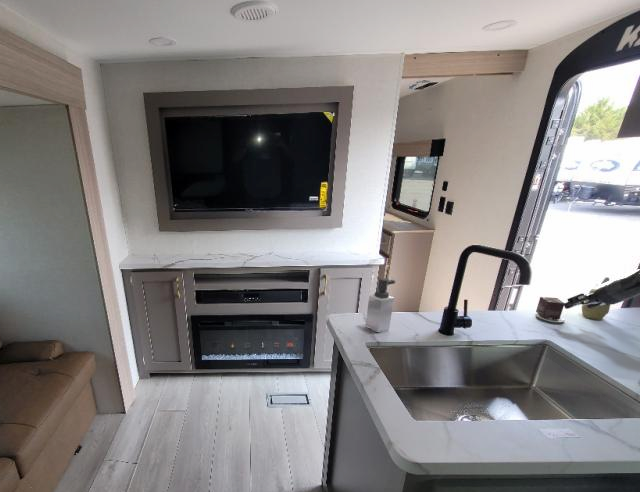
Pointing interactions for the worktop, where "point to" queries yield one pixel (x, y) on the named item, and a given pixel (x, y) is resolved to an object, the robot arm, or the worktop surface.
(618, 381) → the worktop surface
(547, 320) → the white flat disc
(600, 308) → the squeeze bottle
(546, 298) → the box
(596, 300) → the robot arm
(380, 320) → the soap dispenser
